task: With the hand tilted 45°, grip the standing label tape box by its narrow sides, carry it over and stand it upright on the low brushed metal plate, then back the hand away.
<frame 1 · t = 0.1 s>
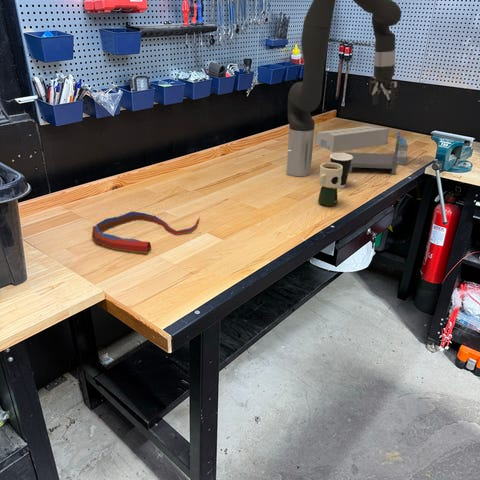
hand: (382, 106, 179), 22 cm above the table, tool pointing down, fingers open, 8 cm apart
red curved tail: (149, 231, 133), on the table
character mug: (327, 204, 150), on the table
brushed metal plate: (368, 168, 182), on the table
dixie cup: (337, 186, 165), on the table
label tape box: (398, 162, 190), on the table
warehouse: (350, 145, 213), on the table
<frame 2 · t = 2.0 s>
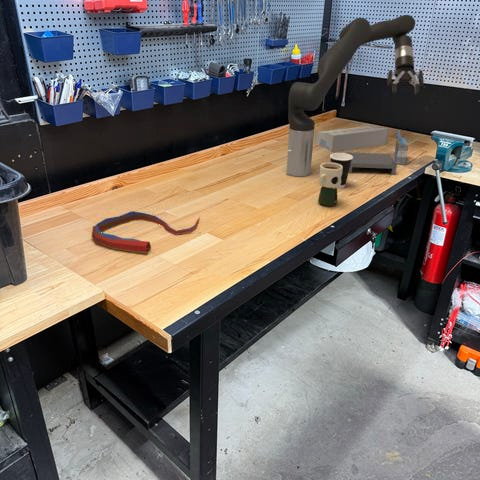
hand: (405, 93, 189), 25 cm above the table, tool tilted 45°, fingers open, 8 cm apart
nothing on the table moved.
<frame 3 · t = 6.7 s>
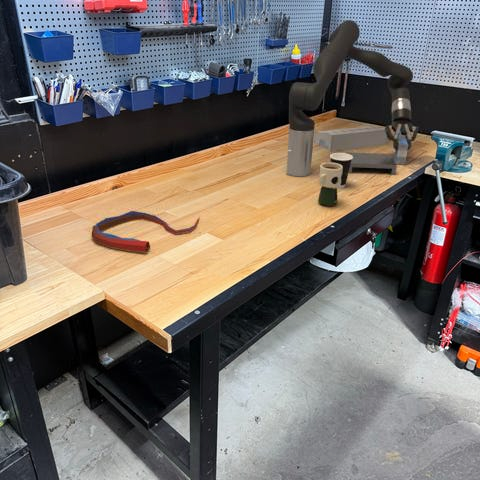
hand: (402, 149, 185), 6 cm above the table, tool tilted 45°, fingers closed on label tape box, 4 cm apart
label tape box: (398, 161, 190), on the table, touching gripper
everything else where it was.
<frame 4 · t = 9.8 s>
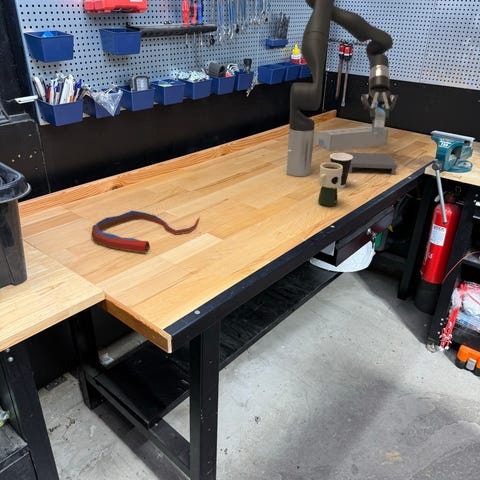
hand: (379, 119, 171), 20 cm above the table, tool tilted 45°, fingers closed on label tape box, 4 cm apart
label tape box: (376, 133, 176), point 14 cm above the table, touching gripper
everything else where it was.
when the fingers open (11 cm above the table, at t = 13.0 s): label tape box stays where it is, resting on brushed metal plate.
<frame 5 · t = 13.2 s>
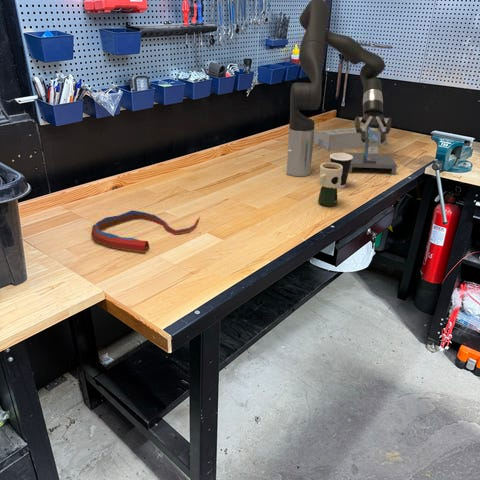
hand: (373, 141, 175), 11 cm above the table, tool tilted 45°, fingers open, 6 cm apart
label tape box: (369, 158, 180), point 4 cm above the table, touching brushed metal plate
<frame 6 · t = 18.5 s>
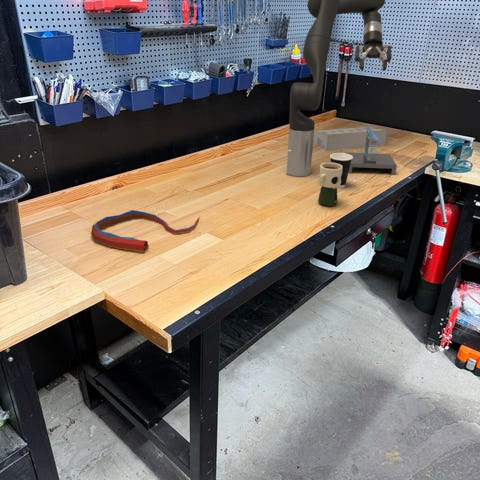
hand: (373, 69, 183), 35 cm above the table, tool tilted 45°, fingers open, 8 cm apart
at the end: label tape box inside the target area on the brushed metal plate (0.1 cm from its centre), point 3.8 cm above the brushed metal plate's base; label tape box tilted 0°; the gripper is holding nothing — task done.
